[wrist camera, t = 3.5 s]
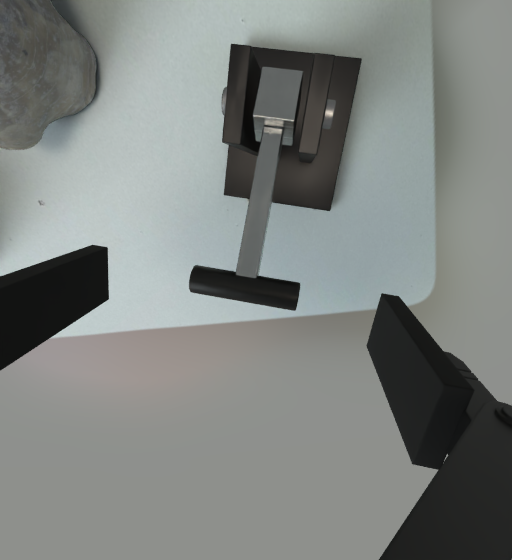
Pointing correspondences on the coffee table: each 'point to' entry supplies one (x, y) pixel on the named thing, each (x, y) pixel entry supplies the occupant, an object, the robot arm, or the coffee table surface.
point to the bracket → (309, 129)
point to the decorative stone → (40, 71)
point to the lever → (260, 198)
